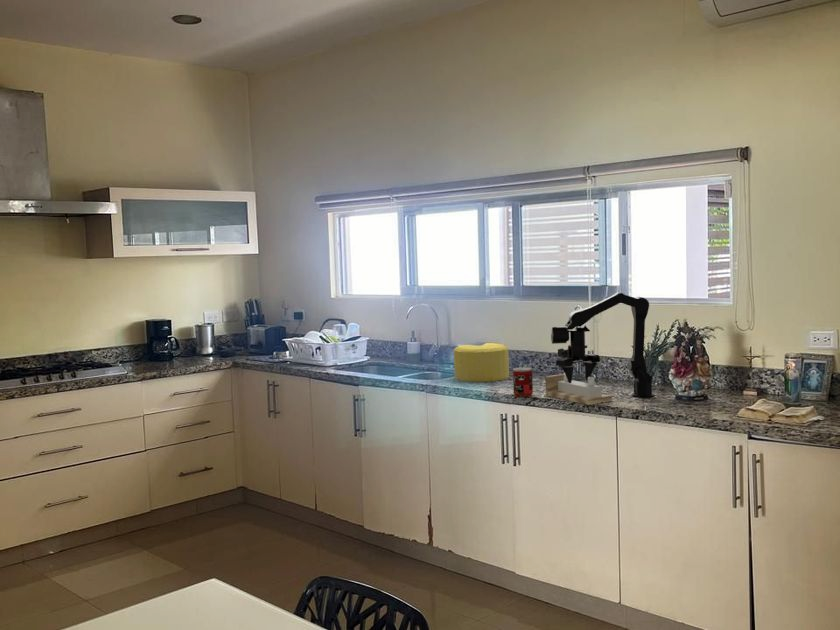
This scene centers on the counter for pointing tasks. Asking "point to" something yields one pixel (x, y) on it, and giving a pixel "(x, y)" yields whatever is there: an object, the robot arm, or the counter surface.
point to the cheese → (481, 362)
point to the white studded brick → (580, 388)
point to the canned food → (522, 381)
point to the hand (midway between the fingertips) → (578, 381)
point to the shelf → (553, 392)
